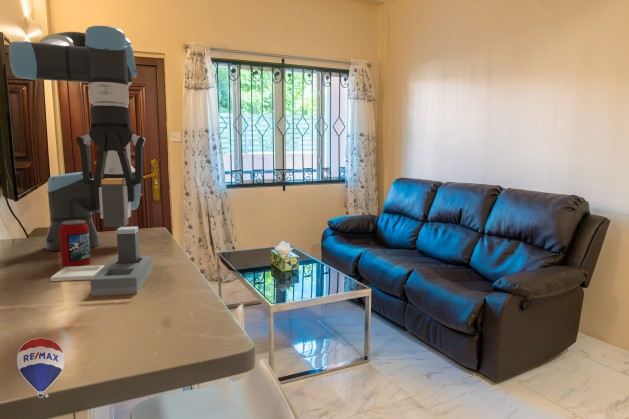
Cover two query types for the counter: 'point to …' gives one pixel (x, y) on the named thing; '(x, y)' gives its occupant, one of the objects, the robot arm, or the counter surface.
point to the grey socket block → (121, 277)
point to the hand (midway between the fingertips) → (116, 217)
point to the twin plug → (128, 245)
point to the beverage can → (74, 243)
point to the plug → (113, 202)
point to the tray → (76, 273)
